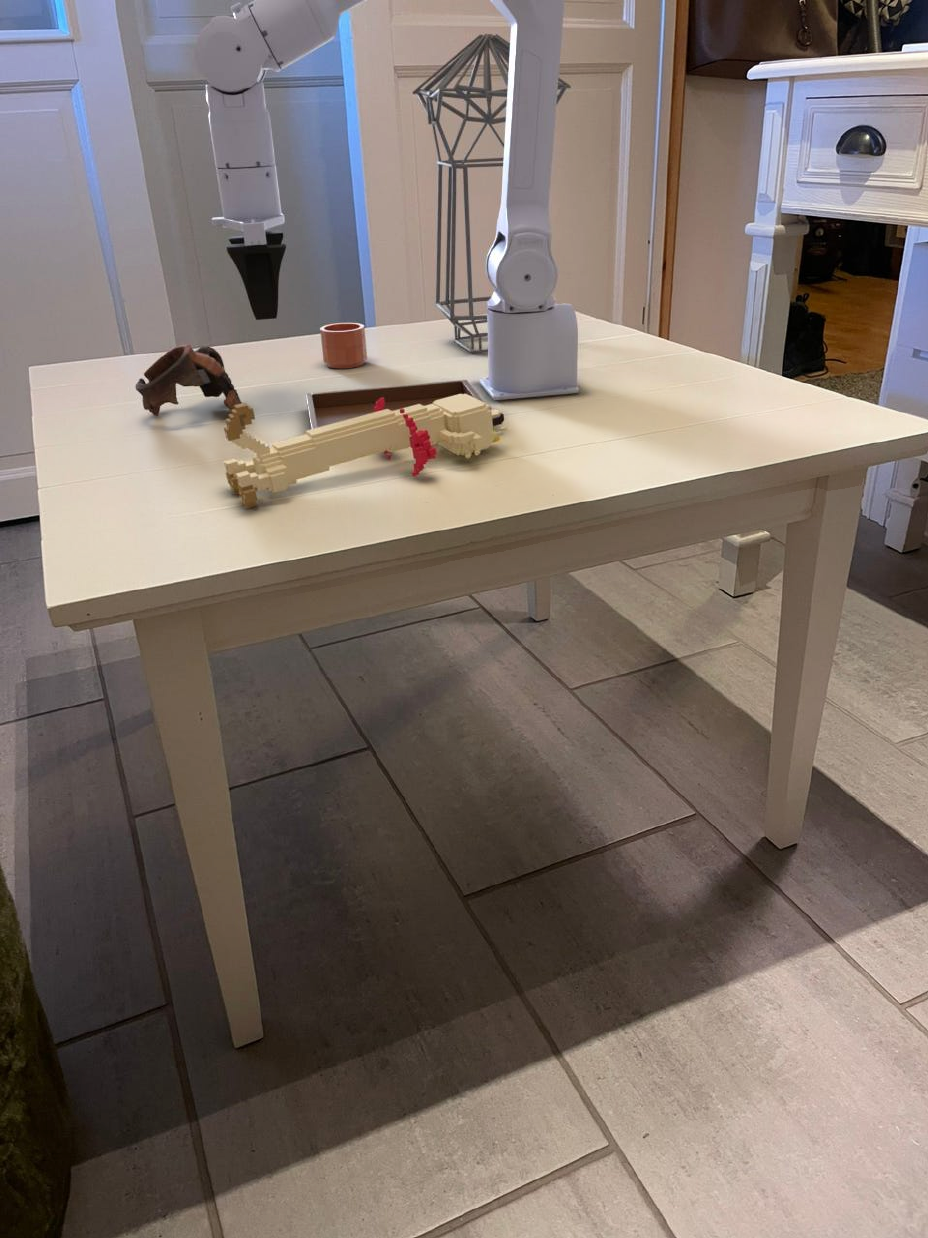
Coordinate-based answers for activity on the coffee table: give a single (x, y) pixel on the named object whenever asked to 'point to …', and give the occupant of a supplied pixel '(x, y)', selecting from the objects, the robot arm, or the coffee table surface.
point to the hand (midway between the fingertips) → (265, 311)
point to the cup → (343, 345)
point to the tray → (362, 401)
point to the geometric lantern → (465, 159)
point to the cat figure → (359, 441)
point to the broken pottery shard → (186, 377)
